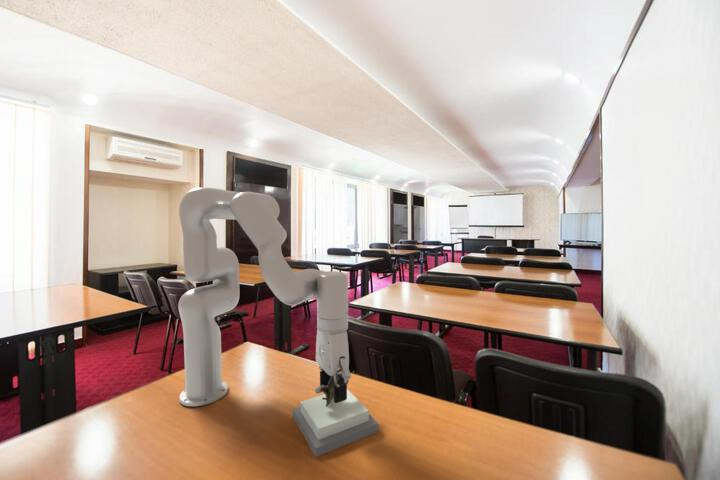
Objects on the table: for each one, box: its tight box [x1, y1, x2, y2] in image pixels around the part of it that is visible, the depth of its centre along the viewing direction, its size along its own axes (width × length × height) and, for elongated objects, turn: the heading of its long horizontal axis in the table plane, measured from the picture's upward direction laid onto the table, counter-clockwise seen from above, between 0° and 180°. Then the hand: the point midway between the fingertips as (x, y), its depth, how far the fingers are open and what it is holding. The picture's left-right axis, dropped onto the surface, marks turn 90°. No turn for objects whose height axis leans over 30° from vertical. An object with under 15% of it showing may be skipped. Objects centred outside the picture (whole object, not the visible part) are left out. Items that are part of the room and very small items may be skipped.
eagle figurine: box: [315, 368, 342, 407], centre depth 77 cm, size 8×7×9 cm
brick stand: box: [292, 388, 380, 458], centre depth 75 cm, size 16×16×5 cm
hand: (332, 392), depth 75 cm, fingers closed on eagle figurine, 7 cm apart
